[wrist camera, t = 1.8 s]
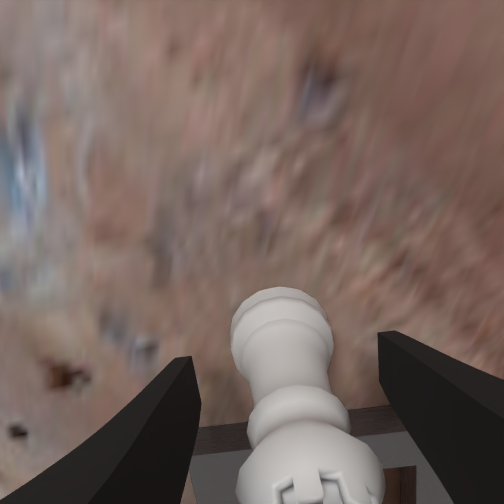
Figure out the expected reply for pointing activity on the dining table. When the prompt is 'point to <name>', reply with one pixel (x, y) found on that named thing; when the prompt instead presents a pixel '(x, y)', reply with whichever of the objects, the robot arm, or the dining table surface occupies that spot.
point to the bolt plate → (362, 428)
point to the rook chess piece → (297, 408)
